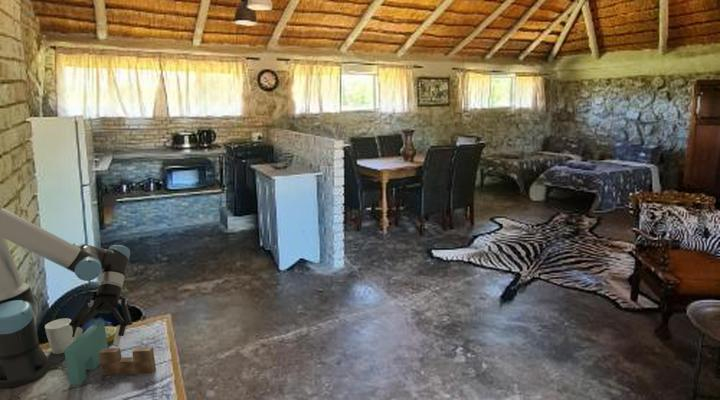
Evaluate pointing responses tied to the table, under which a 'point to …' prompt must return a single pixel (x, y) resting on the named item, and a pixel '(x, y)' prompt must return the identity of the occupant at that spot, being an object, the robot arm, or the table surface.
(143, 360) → the walnut slotted plate
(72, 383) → the teal upright panel
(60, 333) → the white cup
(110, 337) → the decorated donut
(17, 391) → the table surface
